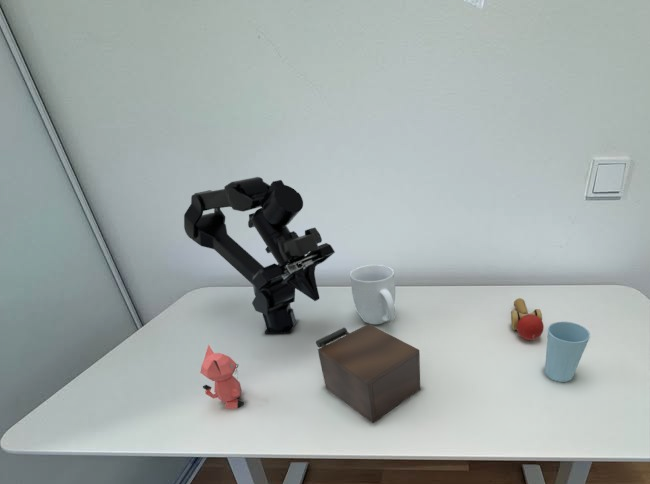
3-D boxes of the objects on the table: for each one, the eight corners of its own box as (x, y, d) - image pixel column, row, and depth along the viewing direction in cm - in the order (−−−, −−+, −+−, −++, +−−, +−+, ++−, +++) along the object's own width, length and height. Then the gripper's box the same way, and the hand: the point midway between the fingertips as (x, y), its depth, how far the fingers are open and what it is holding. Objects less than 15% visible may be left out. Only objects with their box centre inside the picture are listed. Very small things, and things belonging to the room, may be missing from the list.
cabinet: (325, 388, 75) (317, 349, 70) (372, 360, 83) (368, 323, 77) (373, 423, 67) (367, 382, 61) (420, 389, 74) (419, 349, 69)
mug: (413, 327, 94) (411, 279, 87) (374, 341, 89) (369, 291, 82) (384, 304, 105) (380, 260, 97) (348, 316, 100) (342, 270, 92)
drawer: (312, 372, 78) (305, 341, 74) (354, 349, 85) (350, 319, 81) (366, 412, 68) (362, 378, 63) (410, 382, 75) (408, 350, 70)
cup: (575, 390, 73) (587, 346, 67) (536, 379, 76) (544, 336, 70) (580, 368, 78) (592, 326, 72) (543, 359, 81) (551, 318, 75)
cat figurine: (253, 405, 71) (235, 355, 65) (215, 420, 68) (191, 368, 62) (245, 386, 76) (227, 337, 70) (209, 398, 73) (187, 348, 67)
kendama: (500, 312, 102) (511, 340, 85) (507, 291, 99) (519, 315, 83) (528, 317, 102) (544, 346, 86) (535, 296, 99) (553, 321, 83)
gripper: (252, 229, 66) (300, 305, 69) (327, 206, 79) (365, 271, 82) (232, 255, 74) (277, 322, 77) (304, 231, 87) (339, 289, 90)
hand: (317, 299), depth 81 cm, fingers closed
